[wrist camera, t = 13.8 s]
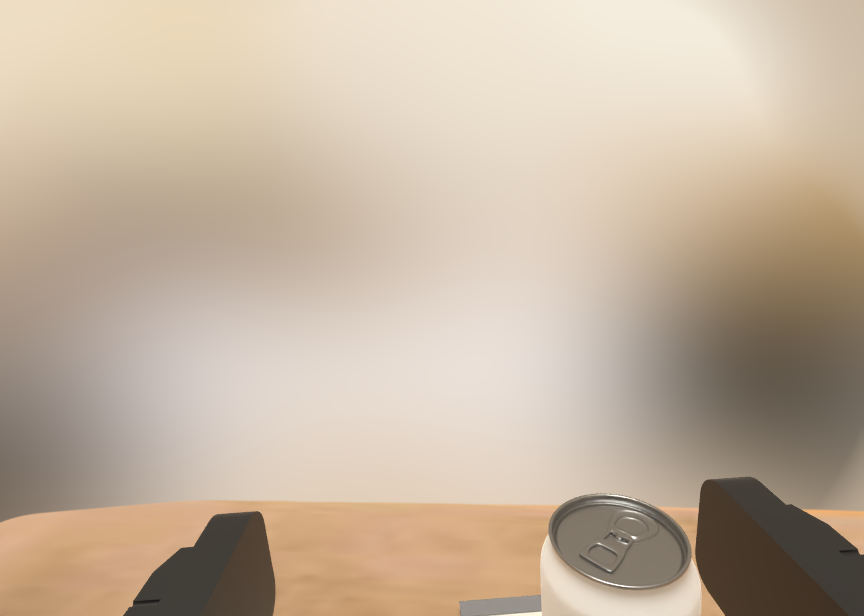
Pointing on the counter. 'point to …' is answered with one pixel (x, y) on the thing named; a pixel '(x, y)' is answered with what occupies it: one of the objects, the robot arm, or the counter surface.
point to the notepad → (503, 606)
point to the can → (617, 561)
